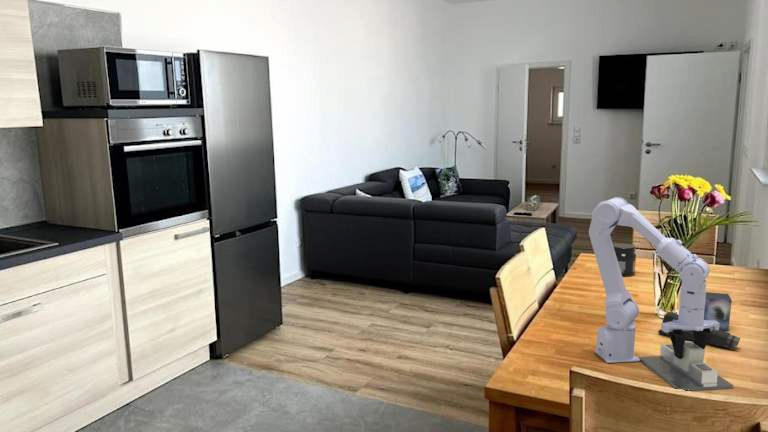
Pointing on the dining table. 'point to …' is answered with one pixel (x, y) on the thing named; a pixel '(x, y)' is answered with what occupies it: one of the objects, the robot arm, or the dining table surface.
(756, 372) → the dining table surface
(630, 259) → the supplement container
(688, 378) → the panel
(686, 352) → the block
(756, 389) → the dining table surface
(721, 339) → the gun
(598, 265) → the robot arm
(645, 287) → the dining table surface
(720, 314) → the small box
